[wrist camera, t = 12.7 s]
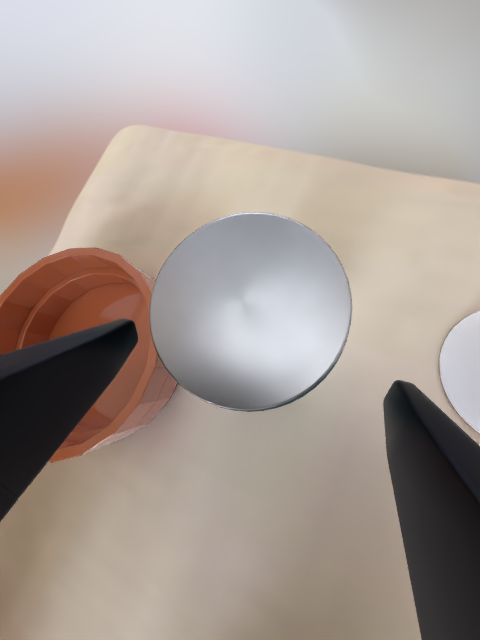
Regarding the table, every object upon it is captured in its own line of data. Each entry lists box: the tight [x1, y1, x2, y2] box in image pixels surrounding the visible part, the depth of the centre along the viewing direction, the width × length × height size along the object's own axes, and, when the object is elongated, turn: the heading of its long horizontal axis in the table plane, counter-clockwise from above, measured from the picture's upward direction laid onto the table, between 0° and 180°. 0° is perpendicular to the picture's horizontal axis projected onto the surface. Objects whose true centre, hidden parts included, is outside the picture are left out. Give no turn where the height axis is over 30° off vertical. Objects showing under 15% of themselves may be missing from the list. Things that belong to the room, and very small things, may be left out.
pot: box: [0, 248, 177, 463], centre depth 17 cm, size 13×13×4 cm
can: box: [149, 213, 352, 412], centre depth 11 cm, size 5×5×12 cm
